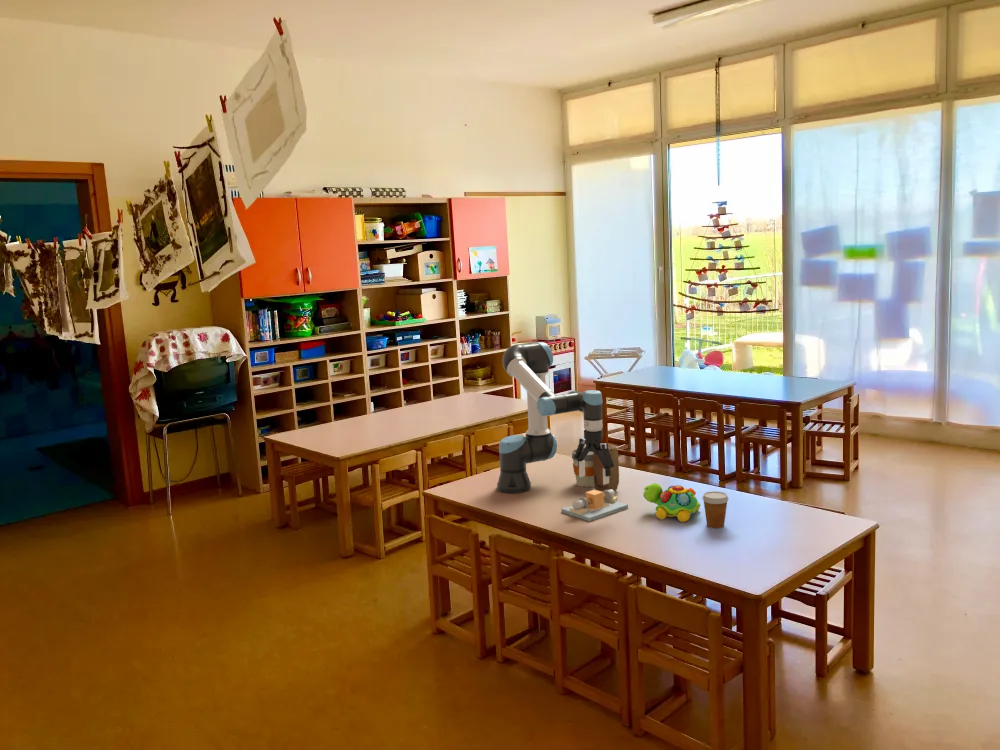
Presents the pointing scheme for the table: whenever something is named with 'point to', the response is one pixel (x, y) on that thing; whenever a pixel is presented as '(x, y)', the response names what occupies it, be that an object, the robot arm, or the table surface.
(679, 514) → the turtle toy
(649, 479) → the table surface
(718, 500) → the disposable coffee cup
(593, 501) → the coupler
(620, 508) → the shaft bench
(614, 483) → the block
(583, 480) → the reusable coffee cup
